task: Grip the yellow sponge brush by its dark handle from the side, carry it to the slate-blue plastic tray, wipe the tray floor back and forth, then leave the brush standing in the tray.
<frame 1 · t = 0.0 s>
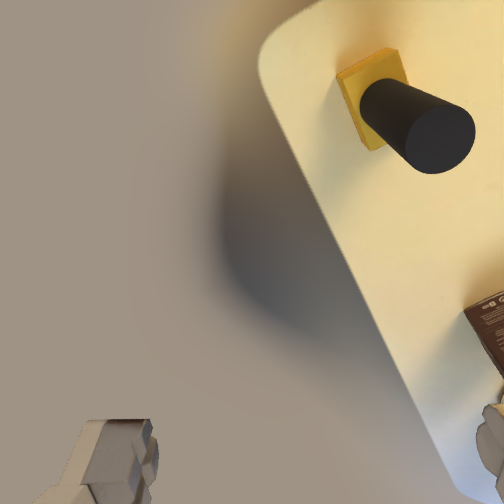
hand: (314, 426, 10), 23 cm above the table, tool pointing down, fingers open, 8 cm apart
box: (493, 319, 37), on the table
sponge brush: (373, 97, 28), on the table
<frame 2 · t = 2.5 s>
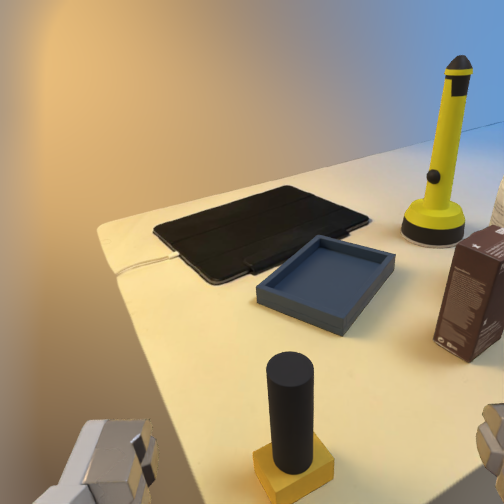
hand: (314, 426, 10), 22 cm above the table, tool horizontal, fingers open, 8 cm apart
tray: (328, 285, 53), on the table
flashlight: (430, 235, 63), on the table
box: (467, 342, 43), on the table
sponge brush: (293, 475, 31), on the table
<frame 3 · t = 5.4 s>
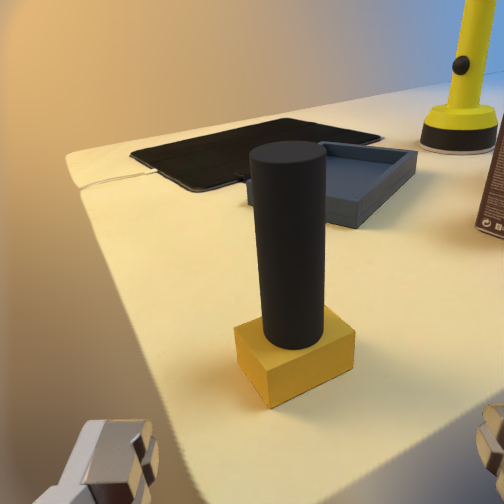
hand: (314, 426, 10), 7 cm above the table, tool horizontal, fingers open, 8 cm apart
tray: (335, 188, 43), on the table
flashlight: (455, 146, 53), on the table
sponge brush: (294, 365, 21), on the table
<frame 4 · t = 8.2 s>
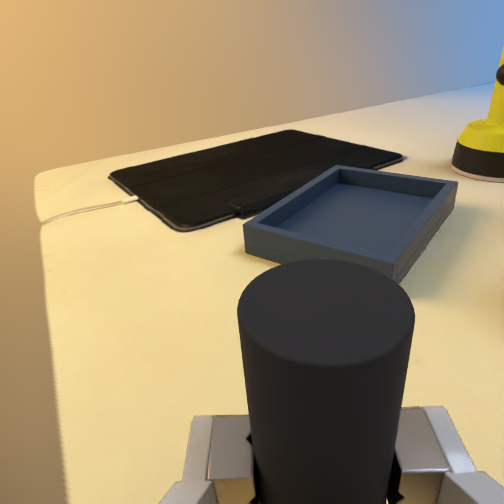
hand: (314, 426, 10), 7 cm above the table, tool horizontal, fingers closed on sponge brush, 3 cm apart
tray: (355, 229, 34), on the table
flashlight: (495, 169, 44), on the table
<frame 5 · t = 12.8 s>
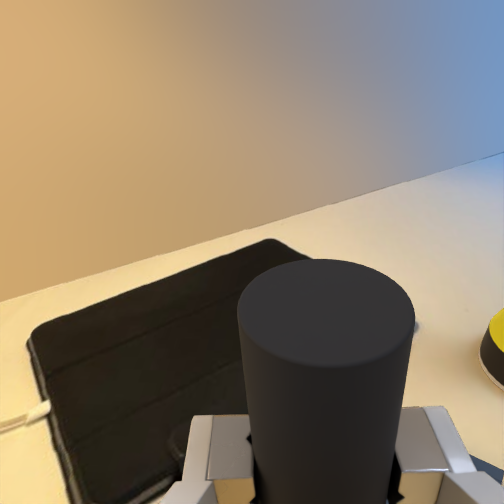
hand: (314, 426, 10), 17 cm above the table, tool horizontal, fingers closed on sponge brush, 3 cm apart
when the fingers open (8 cm above the table, at t = 17.8 s): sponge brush stays where it is, resting on tray.
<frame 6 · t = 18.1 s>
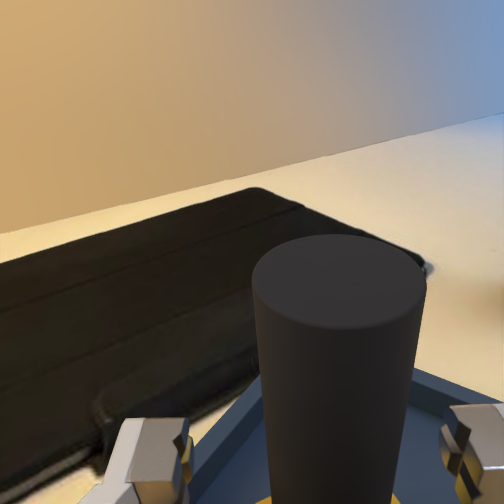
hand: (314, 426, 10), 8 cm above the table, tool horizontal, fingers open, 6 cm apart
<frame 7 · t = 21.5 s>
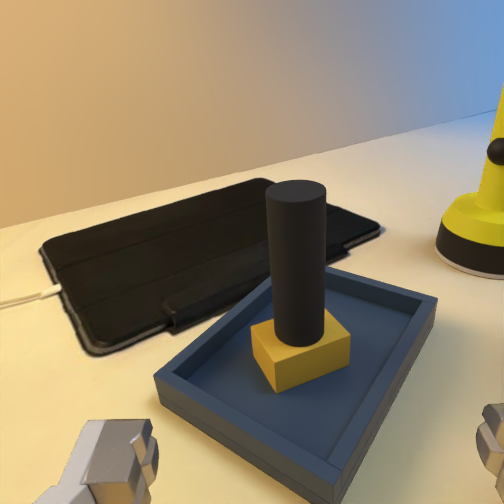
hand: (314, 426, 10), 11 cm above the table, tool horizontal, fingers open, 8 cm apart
tray: (307, 362, 27), on the table
flashlight: (487, 254, 37), on the table
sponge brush: (300, 360, 26), point 1 cm above the table, touching tray
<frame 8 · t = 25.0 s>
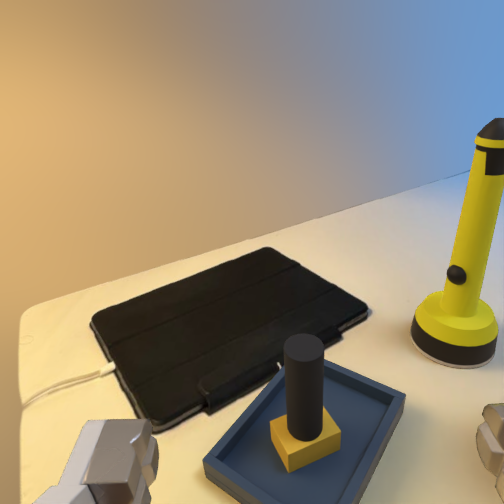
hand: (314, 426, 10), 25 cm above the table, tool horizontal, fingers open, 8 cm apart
tray: (310, 442, 37), on the table
flashlight: (450, 341, 47), on the table
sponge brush: (304, 444, 36), point 1 cm above the table, touching tray
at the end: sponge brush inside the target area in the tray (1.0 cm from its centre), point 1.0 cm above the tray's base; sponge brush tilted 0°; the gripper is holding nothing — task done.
